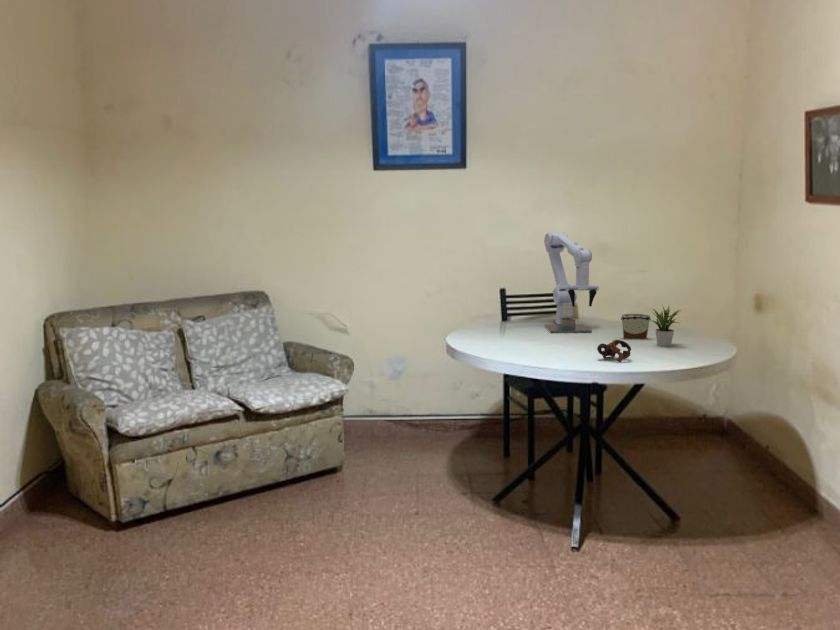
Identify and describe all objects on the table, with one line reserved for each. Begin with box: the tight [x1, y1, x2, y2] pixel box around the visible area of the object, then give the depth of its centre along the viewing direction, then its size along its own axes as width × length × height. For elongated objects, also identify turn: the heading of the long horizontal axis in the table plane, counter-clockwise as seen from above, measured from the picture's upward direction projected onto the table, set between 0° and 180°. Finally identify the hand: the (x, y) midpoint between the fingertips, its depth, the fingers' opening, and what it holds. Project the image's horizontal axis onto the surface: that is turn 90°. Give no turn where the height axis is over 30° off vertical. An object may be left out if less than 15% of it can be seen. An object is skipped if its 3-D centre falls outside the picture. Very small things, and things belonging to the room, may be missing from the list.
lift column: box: [563, 303, 573, 319], centre depth 336 cm, size 3×3×8 cm
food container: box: [620, 313, 652, 340], centre depth 314 cm, size 12×6×10 cm, turn 84°
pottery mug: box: [596, 339, 632, 363], centre depth 272 cm, size 12×10×8 cm
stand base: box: [543, 317, 592, 334], centre depth 337 cm, size 18×18×6 cm
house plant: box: [649, 304, 683, 347], centre depth 296 cm, size 14×14×16 cm
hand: (581, 306), depth 340 cm, fingers open, 7 cm apart
